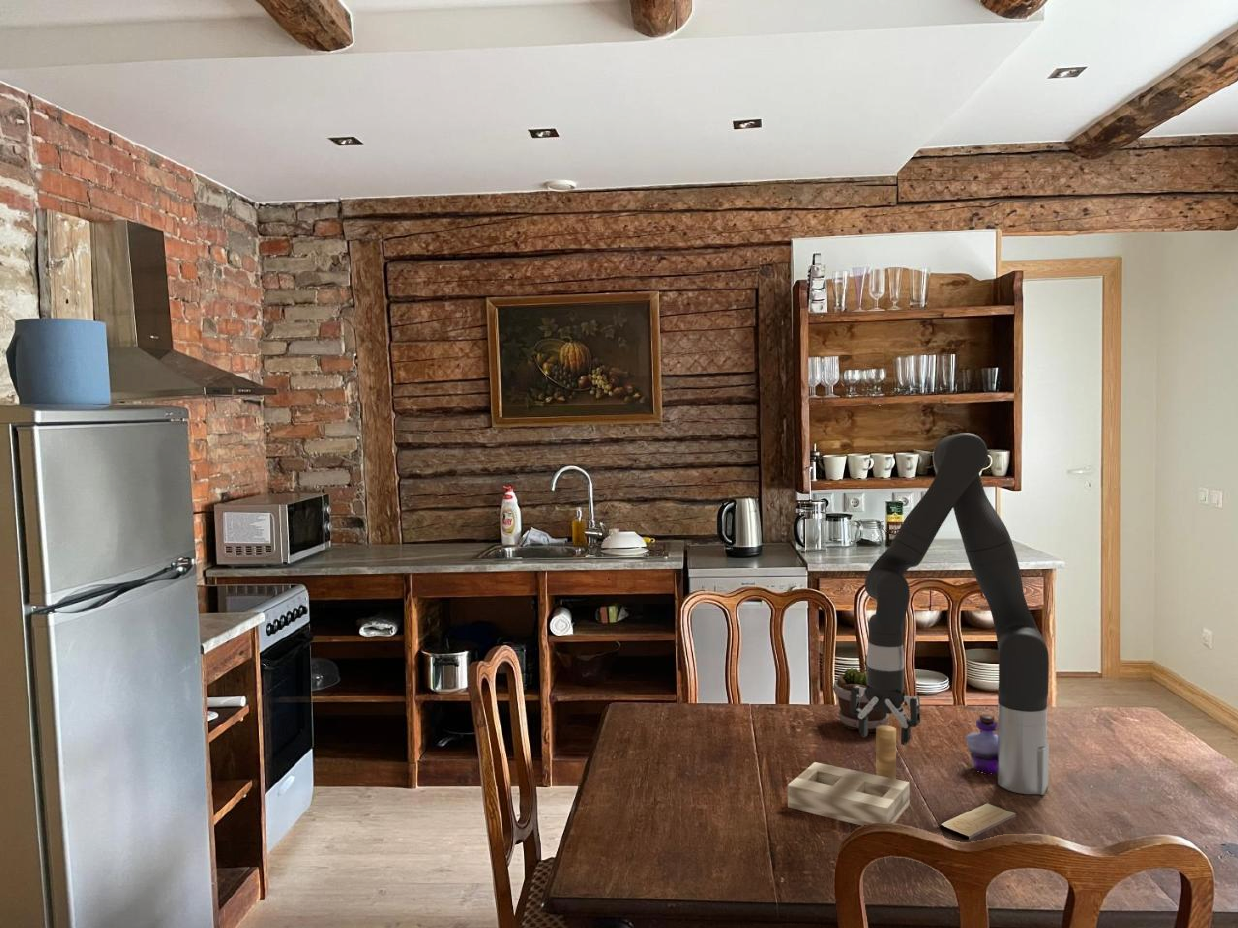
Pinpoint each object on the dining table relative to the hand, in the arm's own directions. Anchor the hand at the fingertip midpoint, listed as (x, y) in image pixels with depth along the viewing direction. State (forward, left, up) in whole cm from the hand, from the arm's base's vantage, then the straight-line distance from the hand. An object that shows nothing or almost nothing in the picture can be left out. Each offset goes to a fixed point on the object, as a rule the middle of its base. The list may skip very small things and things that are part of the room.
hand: (884, 739), depth 190 cm
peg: (-1, 0, -10) cm, 10 cm away
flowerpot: (+15, -32, -10) cm, 37 cm away
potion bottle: (-17, -19, -10) cm, 27 cm away
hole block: (+2, +14, -9) cm, 17 cm away
